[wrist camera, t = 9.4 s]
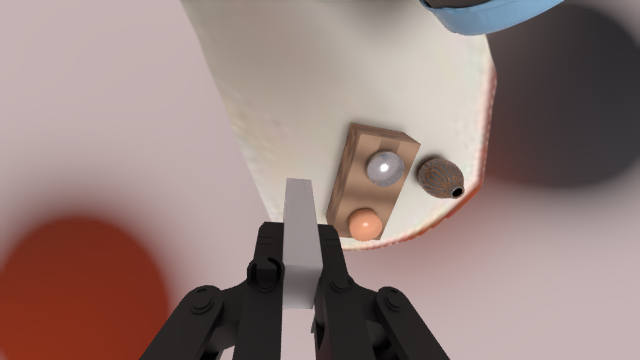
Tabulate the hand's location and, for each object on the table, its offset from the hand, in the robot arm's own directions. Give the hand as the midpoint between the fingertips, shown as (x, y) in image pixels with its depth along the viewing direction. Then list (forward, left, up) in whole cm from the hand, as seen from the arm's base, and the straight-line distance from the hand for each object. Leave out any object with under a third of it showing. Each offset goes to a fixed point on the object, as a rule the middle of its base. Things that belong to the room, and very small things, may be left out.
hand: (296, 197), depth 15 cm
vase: (+6, +28, -26) cm, 39 cm away
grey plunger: (+5, +15, -24) cm, 29 cm away
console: (+10, +15, -26) cm, 31 cm away
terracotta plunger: (+16, +15, -23) cm, 32 cm away
